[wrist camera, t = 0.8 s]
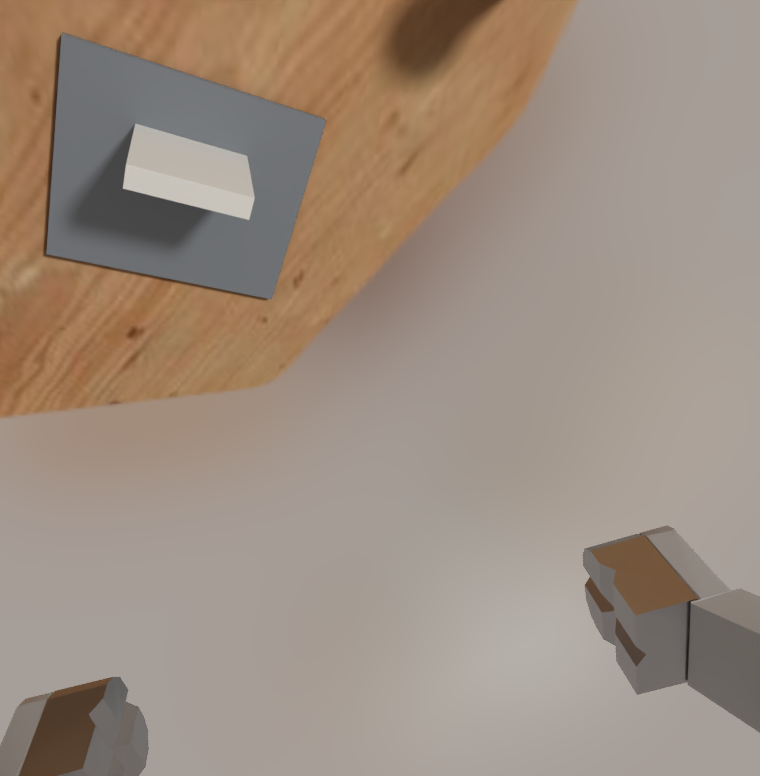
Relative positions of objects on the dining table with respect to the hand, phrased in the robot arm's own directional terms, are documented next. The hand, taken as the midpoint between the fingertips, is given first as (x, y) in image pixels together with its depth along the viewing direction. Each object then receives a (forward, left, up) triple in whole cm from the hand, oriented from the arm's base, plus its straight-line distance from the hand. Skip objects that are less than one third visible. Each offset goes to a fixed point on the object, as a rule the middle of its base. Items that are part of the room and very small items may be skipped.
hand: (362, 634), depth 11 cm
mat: (+10, -2, -44) cm, 45 cm away
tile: (+7, -2, -43) cm, 44 cm away
